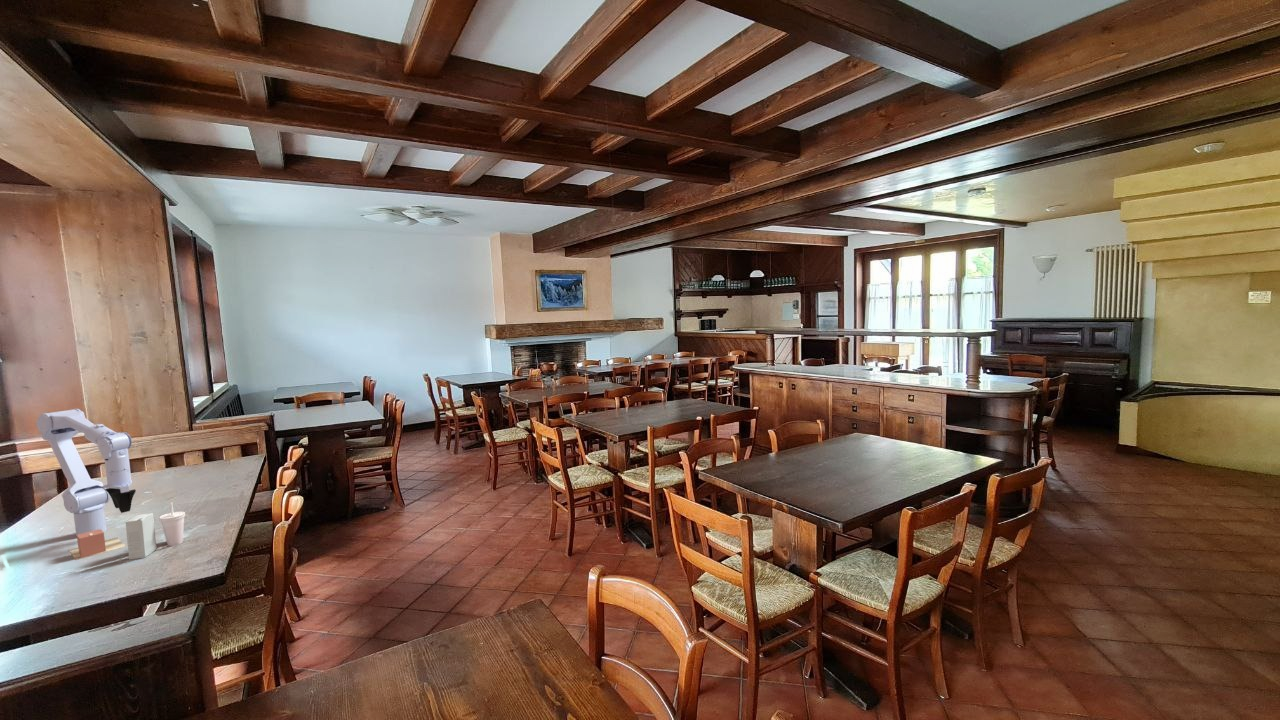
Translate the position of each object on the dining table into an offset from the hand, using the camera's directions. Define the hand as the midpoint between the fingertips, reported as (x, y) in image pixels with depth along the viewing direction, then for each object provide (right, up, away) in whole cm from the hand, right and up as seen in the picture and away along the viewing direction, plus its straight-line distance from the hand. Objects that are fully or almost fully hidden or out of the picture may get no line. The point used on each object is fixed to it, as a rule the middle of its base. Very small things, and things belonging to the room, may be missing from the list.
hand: (122, 509), depth 174 cm
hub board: (0, -11, -8) cm, 14 cm away
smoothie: (+22, -10, -5) cm, 25 cm away
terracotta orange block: (+2, -10, -12) cm, 15 cm away
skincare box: (+19, -11, -13) cm, 25 cm away
